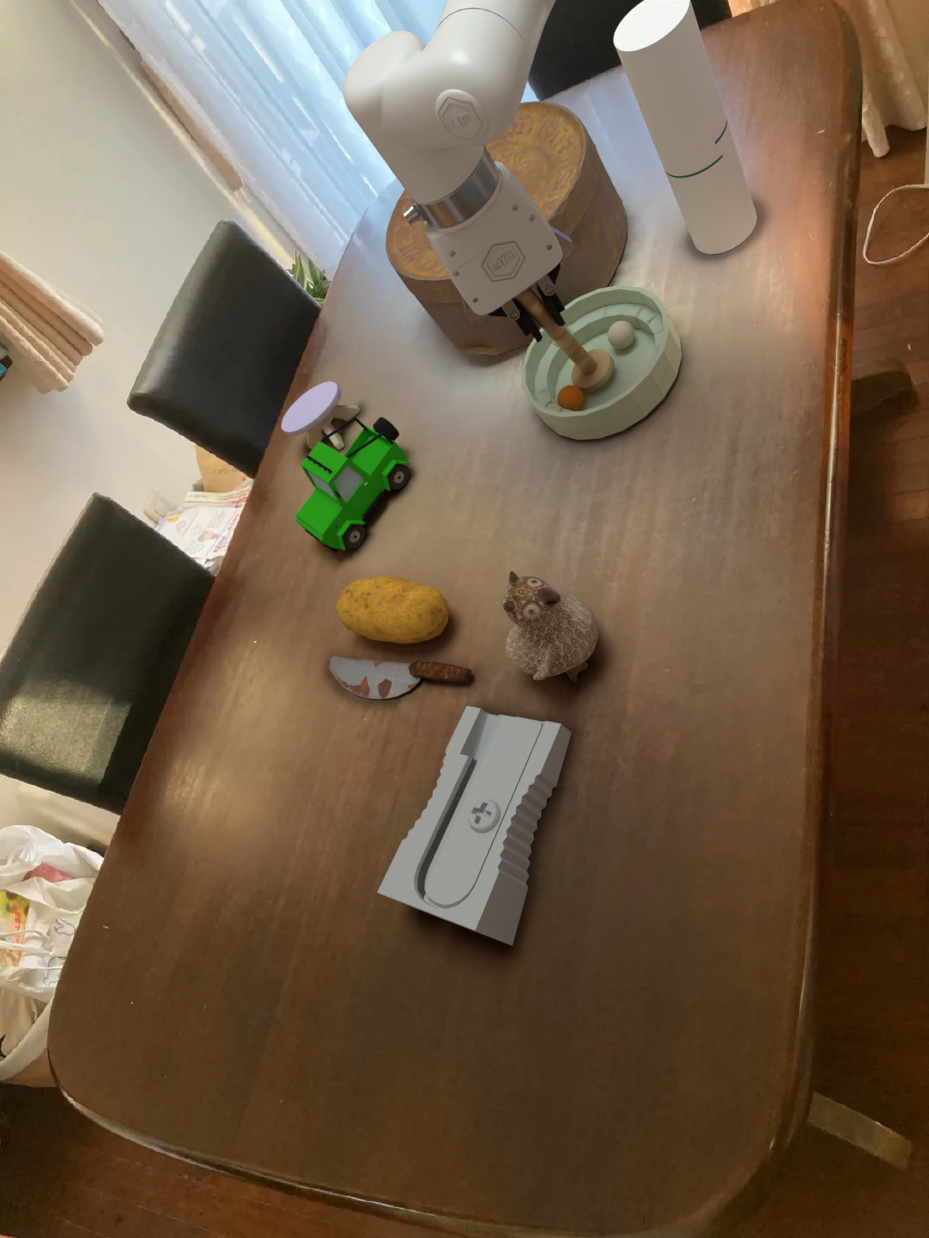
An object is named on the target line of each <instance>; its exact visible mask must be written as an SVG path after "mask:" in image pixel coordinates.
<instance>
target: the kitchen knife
mask: <svg viewBox="0 0 929 1238" xmlns="http://www.w3.org/2000/svg"><path fill="white" fill-rule="evenodd" d="M328 670H329V672H330V673H331V675H332V676H333V678H334V679H335V680H336V681H337V682H338V684H339V685H340V686H341V687H342V688H343V689H344V690H346V691H348V692H349V693H351V694H352V695H354V696H357V697H361V698H365V699H368V700H387V699H392V698H398V697H400V696H402V695H404V694H406V693H408V692H409V691H411V690H412V689H413V688H414V687H415V686H417V684H419V683H420V681H421V679H424V678H425V679H428V680H431V681H435V682H436V681H439V682H450V683H461V682H464V683H469V682H470V681H471V680H472V678H473V677H474V675H473V671H472V669H470V668H469V667H463V666H459V665H455V664H450V663H444V662H438V661H433V660H432V661H423V660H420V659H416V660H414V661H412V662H411V663H410V662H409V663H408V662H399V661H390V660H378V659H368V658H358V657H348V656H341V655H337V654H332V653H331V654H330V655H329V663H328Z"/></svg>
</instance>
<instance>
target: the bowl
mask: <svg viewBox="0 0 929 1238" xmlns="http://www.w3.org/2000/svg"><path fill="white" fill-rule="evenodd" d="M565 309H566V310H564V311H563V312H561V313H560V314H561V316H562V318H563V319H564V321H565V323H566V324H565V325H564V326H565V327H566V329H567V330H568V331H569V332H570V333H571V334H572V335H573V336H574V338H575V339H576V340H577V341H578V342H579V343H580V344H581V346H582V347H583V348H584V349H585V350H586V351H587V352H588V351H591V350H594V349H603V350H605V351H607V352H608V353H609V355H610V356H611V357H612V358H613V361H614V370H613V373H612V375H611V377H610V379H609V380H608V381H607V383H606V384H605V385H603V386H602V387H601V388H599V389H598V390H596V391H593V392H588V393H586V392H583V394H584V402H583V405H582V406H581V408H580V409H579V410H577V411H571V410H567V409H563V408H562V407H561V406H559V405H558V402H557V397H558V393H559V392H560V390H561V389H562V388H563V387H565V386H567V385H574V384H573V383H572V380H571V373H572V369H573V367H574V365H575V364H574V362H573V361H572V360H571V359H570V358H569V357H568V356H567V355H566V354H565V353H564V352H563V350H562V349H561V348H560V347H559V346H558V345H557V344H556V343H555V342H554V341H553V340H552V338H551V337H550V336H549V335H548V334H547V333H546V332H545V331H544V330H543V329H542V328H540V330H539V331H540V333H541V335H542V337H543V338H542V340H541V341H540V342H537V341H536V340H535V338H534V339H533V341H532V342H531V343H529V345H528V347H527V349H526V352H525V354H524V359H523V362H522V365H521V370H520V371H521V377H520V379H521V388H522V391H523V392H524V395H525V398H526V399H527V400H528V403H529V404H530V406H531V407H532V408H533V410H534V411H535V412H536V414H537V415H538V416H539V417H540V419H541V420H542V421H543V423H544V424H545V425H546V426H547V427H549V428H550V429H551V430H552V431H553V432H555V433H556V434H557V435H559V436H563V437H565V438H566V437H567V438H570V439H573V440H575V441H576V440H577V441H582V440H597V439H599V440H600V439H602V438H606V437H608V436H611V435H614V434H617V433H620V432H623V431H625V430H627V429H628V428H630V427H631V426H633V425H634V424H636V423H638V422H639V421H641V420H642V419H644V418H646V417H647V416H648V415H649V414H650V413H651V412H652V411H653V410H654V409H655V408H656V407H657V406H658V405H659V404H660V403H661V402H662V401H663V400H664V399H665V397H666V396H667V394H668V392H669V391H670V389H671V387H672V385H674V382H675V380H676V379H677V377H678V373H679V369H680V365H681V361H682V356H683V352H682V345H681V339H680V335H679V332H678V331H677V330H676V327H675V325H674V322H673V321H672V318H671V316H670V314H669V312H668V310H667V309H666V307H665V306H664V304H663V302H662V301H661V299H660V298H659V297H658V295H657V294H654V293H653V292H651V291H649V290H647V289H645V288H644V287H641V286H635V285H634V286H633V285H626V284H617V285H613V286H607V287H606V288H600V289H597V290H595V291H592V292H590V293H588V294H585V295H583V296H580V297H578V298H576V299H575V300H573V301H572V302H570V303H569V304H567V305H566V306H565ZM618 321H626V322H628V323H630V324H631V325H632V326H633V328H634V331H635V337H634V340H633V342H632V343H631V344H630V345H629V346H628V347H626V348H624V349H617V348H615V347H613V346H612V345H611V344H610V343H609V341H608V331H609V328H610V327H611V326H612V325H613V324H614V323H615V322H618Z"/></svg>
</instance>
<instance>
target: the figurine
mask: <svg viewBox="0 0 929 1238" xmlns="http://www.w3.org/2000/svg"><path fill="white" fill-rule="evenodd" d="M502 608H503V611H504V613H505V615H506V616H507V618H509V620H510V621H511V622H512V623H513V624H514V625H513V626H512V629H511V630H510V631H509V633H508V635H507V637H506V640H505V644H504V645H505V652H506V655H507V657H508V659H509V660H510V661H511V662H512V664H513V665H514V666H516V668H519V669H520V670H521V671H523V672H525V673H527V674H530V675H532V678H533V680H535V681H542V680H546V678H547V677H554V676H557V675H561V674H563V673H565V674H567V675H568V677H569V679H570V680H571V681H572V682H574V683H576V682H577V680H578V679H577V678H578V674H579V673H580V672H583V671H584V670H586V669H587V668H588V665H589V664H588V663H587V662H586V661H587V660H588V659H589V658H590V657H591V655H592V654H593V652H594V650H595V648H596V646H597V642H598V637H599V623H598V620H597V618H596V616H595V614H594V612H593V611H592V610H591V608H590V607H589V606H588V605H587V603H585V602H584V601H583V600H581V599H580V598H579V597H578V596H576V595H574V594H571V593H568V592H564V591H561V590H559V589H556V588H553V586H552V587H551V584H550V583H549V582H548V581H546V580H544V579H542V578H540V577H536V576H529V575H528V576H526V575H525V576H520V577H519V575H517V574H516V572H515V571H513V570H511V571H509V575H508V585H507V586H506V588H505V590H504V592H503V596H502Z"/></svg>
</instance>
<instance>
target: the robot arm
mask: <svg viewBox="0 0 929 1238" xmlns="http://www.w3.org/2000/svg"><path fill="white" fill-rule="evenodd" d="M556 1H557V0H445V3H444V5H443V9H442V11H441V14H440V16H439V20H438V23H437V25H436V28H435V30H434V33H433V35H431V37H430V39H429V41H428V42H427V44H425V43H424V41H422V39H421V38H420V37H418V36H417V35H416V34H415V33H413V32H411V31H408V30H394V31H390V32H387V33H386V34H384V35H382V36H380V37H378V38H377V39H376V40H374V41H373V42H371V43H370V44H369V45H368V46H367V47H366V48H364V49H363V50H362V51H361V53H360V54H359V55H358V56H357V57H356V59H355V60H354V61H353V63H351V65H350V67H349V69H348V70H347V73H346V75H345V78H344V82H343V86H342V87H343V89H342V92H343V93H342V94H343V95H342V96H343V100H344V102H345V106H346V108H347V109H348V112H349V113H350V114H351V116H352V118H353V119H354V121H355V122H356V123H357V125H358V126H359V128H360V129H361V130H362V132H363V133H364V134H365V136H366V137H367V139H368V140H369V141H370V143H371V144H372V145H373V147H374V148H375V150H376V151H377V153H378V154H379V155H380V157H381V158H382V159H383V161H384V163H385V164H386V165H387V166H388V168H389V169H390V171H391V172H392V173H393V175H394V176H395V178H396V179H397V180H398V182H399V184H400V185H401V186H402V187H403V189H404V190H406V191H407V193H408V194H409V196H410V197H411V198H410V202H411V203H410V204H409V205H408V208H406V209H405V210H404V211H403V212H402V213H403V215H404V217H405V219H406V220H407V222H408V223H409V224H410V225H412V224H413V223H415V222H416V221H418V222H419V221H420V220H421V219H422V220H423V222H424V226H425V230H426V234H427V237H428V239H429V242H430V244H431V246H432V248H433V250H434V252H435V254H436V256H437V257H438V259H439V261H440V263H441V264H442V266H443V268H444V269H445V271H446V272H447V274H448V276H449V277H450V279H451V280H452V282H453V283H454V285H455V286H456V288H457V289H458V291H459V292H460V294H461V296H462V302H463V308H464V312H465V314H466V317H467V319H468V320H470V321H473V320H476V319H480V318H483V317H486V316H487V315H490V316H498V317H508V318H509V319H510V320H513V321H514V320H515V321H516V323H517V324H518V326H519V327H520V329H521V330H522V331H523V333H524V334H525V336H527V335H529V334H530V333H531V334H532V335H533V337H534V338H535V340H536V341H537V342H540V341H541V340H542V338H543V337H542V335H541V333H540V331H539V329H538V326H537V324H536V323H535V321H534V319H533V318H532V317H531V316H530V314H529V313H528V312H527V311H526V310H525V309H524V308H523V307H522V306H521V305H520V304H519V302H518V301H517V300H516V299H515V298H514V297H515V296H517V295H518V294H519V293H521V292H522V291H524V290H525V289H526V288H528V287H529V286H531V285H532V284H534V283H535V282H537V283H536V285H537V287H536V288H537V290H538V292H539V294H540V296H541V298H542V300H543V302H544V304H545V305H546V307H547V308H548V310H549V312H550V313H551V315H552V316H553V318H554V319H555V321H556V323H557V324H558V326H559V327H560V326H561V327H562V326H563V325H565V324H566V323H565V321H564V319H563V318H562V316H561V314H560V313H561V312H563V311H564V310H566V309H565V307H564V305H563V304H562V302H561V300H560V299H559V297H558V295H557V294H556V292H555V290H556V288H555V283H556V280H557V277H558V274H559V270H560V267H561V264H562V262H564V261H565V260H566V258H567V257H568V256H569V254H570V253H571V251H572V250H573V248H574V244H573V242H572V241H571V239H570V237H569V236H567V235H565V234H564V233H562V232H560V231H559V230H557V229H555V228H554V227H552V226H551V225H549V224H548V222H547V220H546V219H545V217H544V216H543V214H542V213H541V211H540V209H539V208H538V206H537V205H536V203H535V202H534V200H533V199H532V197H531V196H530V194H529V193H528V192H527V190H526V189H525V188H524V186H523V185H522V184H521V183H520V181H519V180H518V179H517V178H516V177H515V175H514V174H513V173H512V172H511V171H510V170H509V169H508V168H507V167H506V166H505V165H504V164H503V163H501V162H496V161H495V162H494V161H493V159H492V157H491V155H490V154H489V152H488V150H487V149H486V147H485V145H486V144H489V143H491V142H494V141H496V140H497V139H499V138H501V137H502V136H503V135H504V134H505V133H506V132H507V131H508V130H509V128H510V127H511V125H512V123H513V122H514V120H515V118H516V115H517V113H518V110H519V106H520V103H522V99H523V96H524V92H525V89H526V87H527V84H528V79H529V76H530V72H531V68H532V65H533V63H534V59H535V55H536V53H537V50H538V47H539V43H540V40H541V37H542V35H543V31H544V28H545V26H546V23H547V20H548V18H549V16H550V13H551V11H552V9H553V7H554V6H555V3H556Z"/></svg>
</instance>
